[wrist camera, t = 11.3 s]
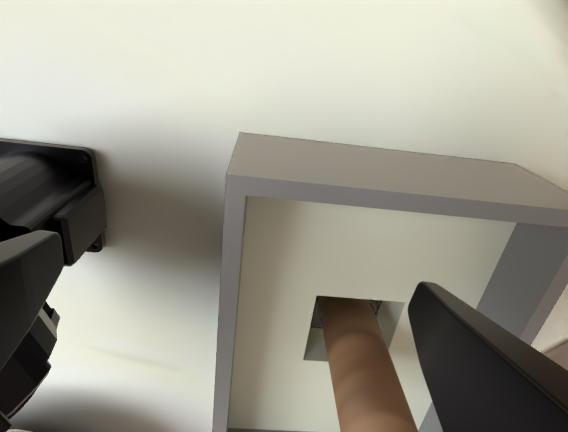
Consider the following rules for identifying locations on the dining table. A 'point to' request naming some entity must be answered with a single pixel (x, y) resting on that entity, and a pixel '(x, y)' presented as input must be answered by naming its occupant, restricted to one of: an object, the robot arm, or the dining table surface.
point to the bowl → (17, 430)
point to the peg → (362, 369)
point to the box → (367, 265)
